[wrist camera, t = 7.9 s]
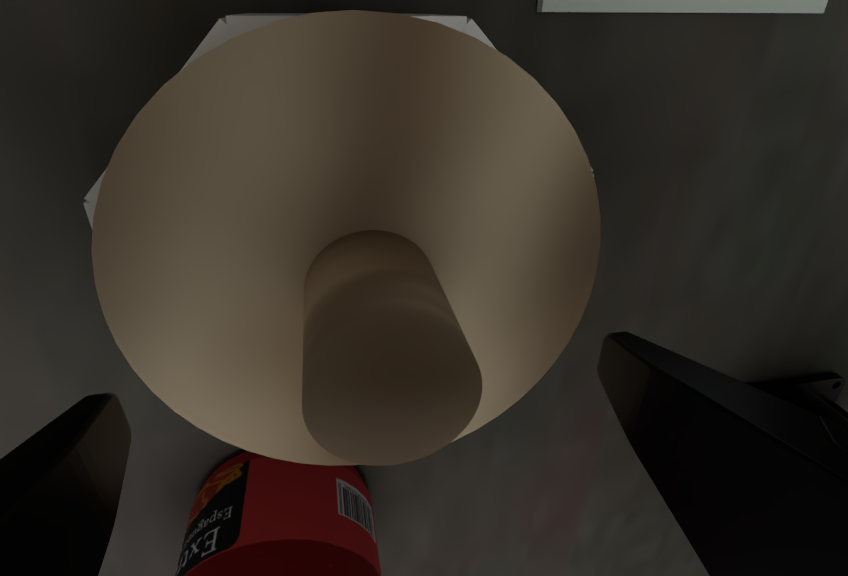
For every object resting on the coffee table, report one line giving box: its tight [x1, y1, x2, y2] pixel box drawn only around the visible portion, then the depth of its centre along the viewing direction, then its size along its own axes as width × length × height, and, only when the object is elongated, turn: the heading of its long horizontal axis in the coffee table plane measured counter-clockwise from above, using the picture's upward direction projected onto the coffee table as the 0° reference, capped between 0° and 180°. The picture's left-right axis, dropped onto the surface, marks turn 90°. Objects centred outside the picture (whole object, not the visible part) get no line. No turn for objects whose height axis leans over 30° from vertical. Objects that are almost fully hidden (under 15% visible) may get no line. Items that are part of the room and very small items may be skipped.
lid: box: [91, 10, 601, 466], centre depth 11 cm, size 12×12×5 cm
